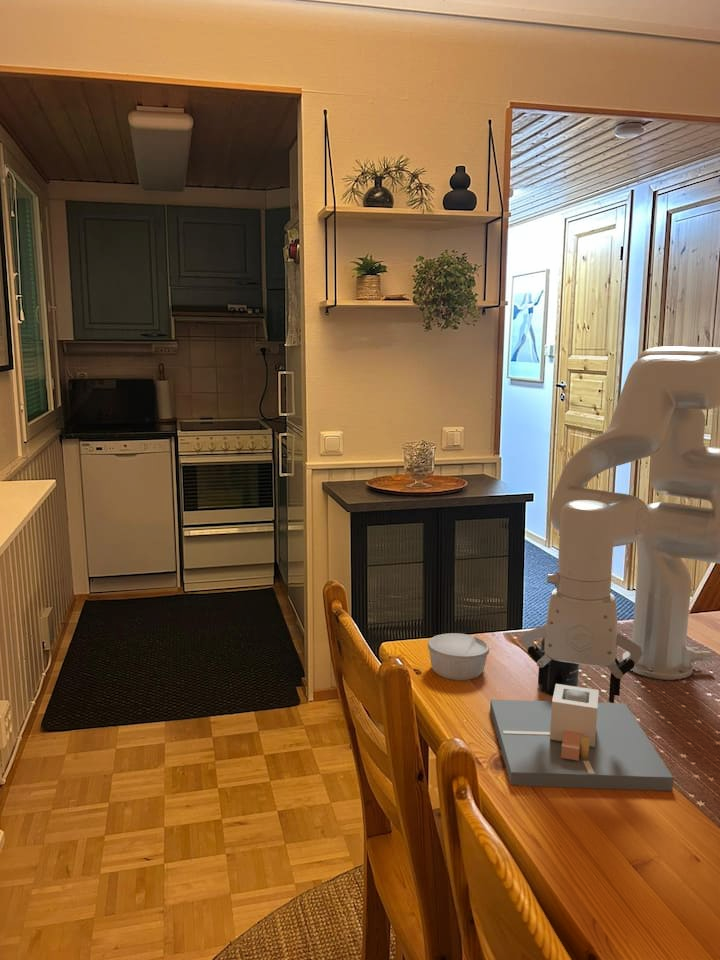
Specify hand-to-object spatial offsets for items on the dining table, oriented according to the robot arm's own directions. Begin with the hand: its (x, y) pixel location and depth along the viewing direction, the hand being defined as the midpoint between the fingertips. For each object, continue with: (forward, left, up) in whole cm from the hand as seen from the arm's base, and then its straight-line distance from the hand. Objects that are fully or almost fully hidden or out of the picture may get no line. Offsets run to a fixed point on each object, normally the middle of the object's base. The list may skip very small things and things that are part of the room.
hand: (578, 693), depth 116 cm
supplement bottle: (-1, -19, -9) cm, 21 cm away
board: (+1, +1, -8) cm, 8 cm away
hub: (+1, +3, -6) cm, 7 cm away
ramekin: (+16, -26, -9) cm, 32 cm away
